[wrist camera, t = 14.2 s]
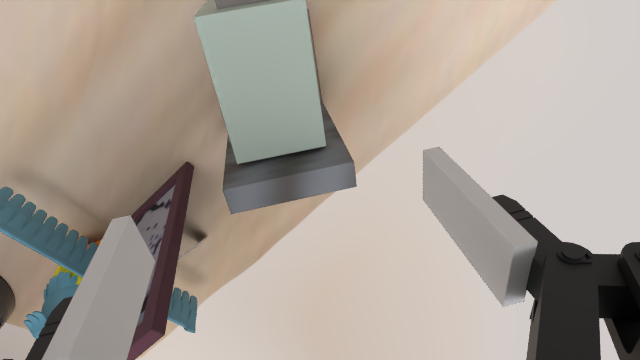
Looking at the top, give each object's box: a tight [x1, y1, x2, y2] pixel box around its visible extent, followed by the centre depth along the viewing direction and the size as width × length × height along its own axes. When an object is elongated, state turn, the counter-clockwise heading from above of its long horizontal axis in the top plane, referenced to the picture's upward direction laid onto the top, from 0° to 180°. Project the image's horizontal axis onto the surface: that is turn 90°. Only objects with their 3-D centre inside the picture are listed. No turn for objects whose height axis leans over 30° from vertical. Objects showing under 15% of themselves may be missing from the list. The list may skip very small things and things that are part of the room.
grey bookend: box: [223, 9, 356, 214], centre depth 36 cm, size 11×12×18 cm
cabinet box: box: [194, 0, 326, 164], centre depth 34 cm, size 8×13×12 cm, turn 8°
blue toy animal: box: [0, 187, 197, 339], centre depth 46 cm, size 28×9×15 cm, turn 38°
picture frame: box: [127, 162, 206, 360], centre depth 41 cm, size 17×10×25 cm, turn 131°
